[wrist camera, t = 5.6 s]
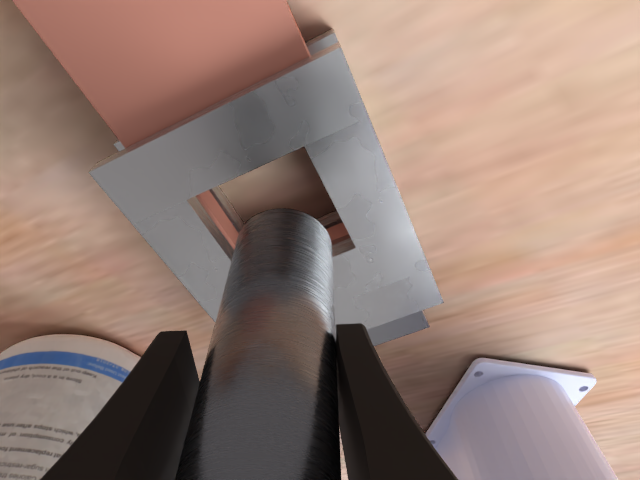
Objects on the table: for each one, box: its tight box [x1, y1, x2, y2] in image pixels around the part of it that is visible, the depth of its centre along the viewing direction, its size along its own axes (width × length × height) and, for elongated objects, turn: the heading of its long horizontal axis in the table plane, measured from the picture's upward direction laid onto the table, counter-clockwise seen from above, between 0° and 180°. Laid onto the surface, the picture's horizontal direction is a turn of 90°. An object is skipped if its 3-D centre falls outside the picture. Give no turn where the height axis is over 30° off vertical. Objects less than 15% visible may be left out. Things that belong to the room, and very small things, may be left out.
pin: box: [175, 209, 341, 480], centre depth 10 cm, size 4×4×10 cm
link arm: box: [12, 0, 351, 249], centre depth 15 cm, size 18×7×2 cm, turn 25°
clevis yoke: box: [88, 29, 444, 346], centre depth 18 cm, size 13×9×3 cm
